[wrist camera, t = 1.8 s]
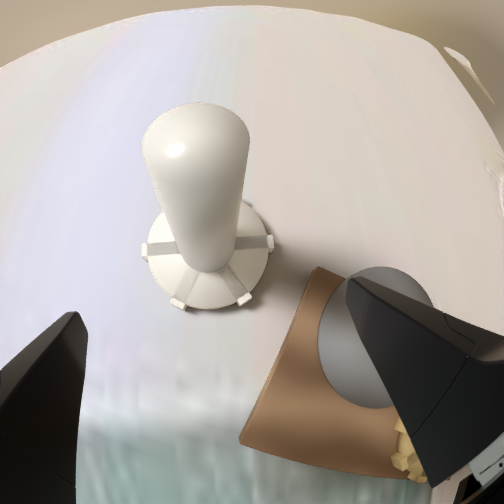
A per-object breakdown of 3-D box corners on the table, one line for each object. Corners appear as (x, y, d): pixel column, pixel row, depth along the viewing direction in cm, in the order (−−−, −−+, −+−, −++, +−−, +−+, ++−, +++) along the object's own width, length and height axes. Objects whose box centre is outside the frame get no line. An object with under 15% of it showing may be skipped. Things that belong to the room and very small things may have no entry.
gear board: (440, 476, 17) (466, 486, 13) (238, 437, 18) (242, 457, 14) (489, 330, 22) (516, 325, 18) (322, 244, 23) (341, 223, 19)
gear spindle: (234, 334, 20) (253, 321, 8) (128, 281, 21) (34, 204, 8) (285, 222, 24) (342, 106, 11) (187, 179, 24) (169, 51, 12)
